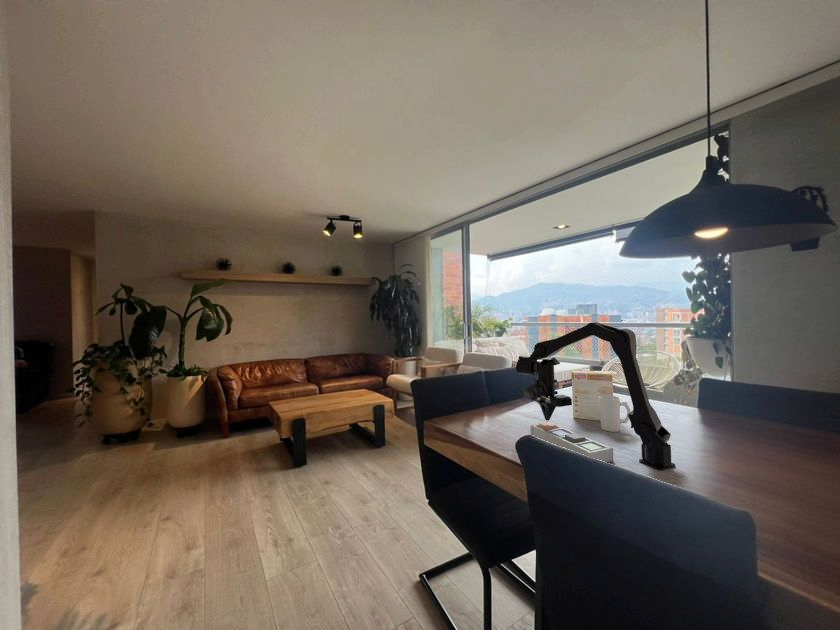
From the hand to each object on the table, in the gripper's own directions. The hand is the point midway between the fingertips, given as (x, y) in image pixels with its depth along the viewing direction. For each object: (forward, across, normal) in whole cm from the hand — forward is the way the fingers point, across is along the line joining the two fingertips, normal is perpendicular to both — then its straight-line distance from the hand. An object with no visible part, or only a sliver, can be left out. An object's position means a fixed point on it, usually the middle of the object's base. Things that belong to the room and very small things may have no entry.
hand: (547, 420), depth 122 cm
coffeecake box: (+7, -11, +32) cm, 34 cm away
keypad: (+6, +10, 0) cm, 12 cm away
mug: (+7, +3, +28) cm, 29 cm away
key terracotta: (+4, 0, 0) cm, 4 cm away
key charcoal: (+4, +13, 0) cm, 13 cm away
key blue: (+5, +6, 0) cm, 8 cm away
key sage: (+5, +19, 0) cm, 20 cm away
